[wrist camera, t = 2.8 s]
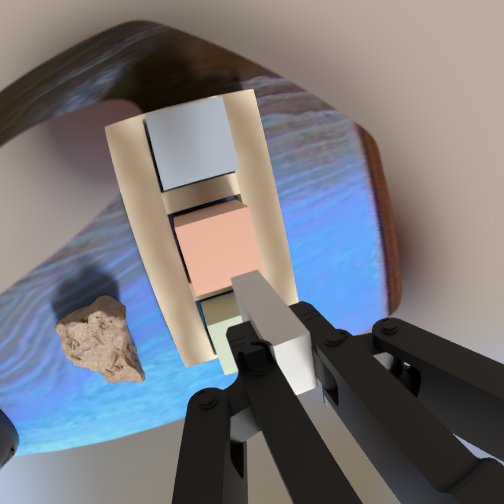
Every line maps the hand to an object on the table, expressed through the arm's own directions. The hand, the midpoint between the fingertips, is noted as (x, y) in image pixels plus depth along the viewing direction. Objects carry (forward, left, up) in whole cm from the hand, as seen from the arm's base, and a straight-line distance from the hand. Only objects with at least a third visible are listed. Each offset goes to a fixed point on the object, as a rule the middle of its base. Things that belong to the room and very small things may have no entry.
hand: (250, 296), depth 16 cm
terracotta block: (0, 0, -14) cm, 14 cm away
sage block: (0, -9, -14) cm, 17 cm away
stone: (-15, -8, -17) cm, 24 cm away
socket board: (0, 0, -16) cm, 16 cm away
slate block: (0, +9, -14) cm, 17 cm away
